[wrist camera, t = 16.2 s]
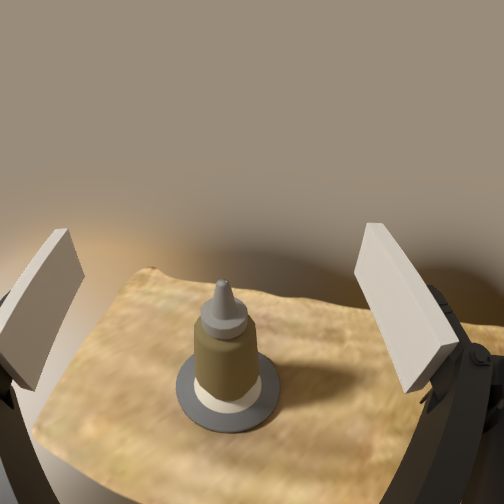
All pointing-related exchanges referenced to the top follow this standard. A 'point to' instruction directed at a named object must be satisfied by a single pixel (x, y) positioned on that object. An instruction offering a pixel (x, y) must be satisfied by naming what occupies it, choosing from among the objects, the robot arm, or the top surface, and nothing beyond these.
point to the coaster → (233, 412)
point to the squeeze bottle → (225, 346)
